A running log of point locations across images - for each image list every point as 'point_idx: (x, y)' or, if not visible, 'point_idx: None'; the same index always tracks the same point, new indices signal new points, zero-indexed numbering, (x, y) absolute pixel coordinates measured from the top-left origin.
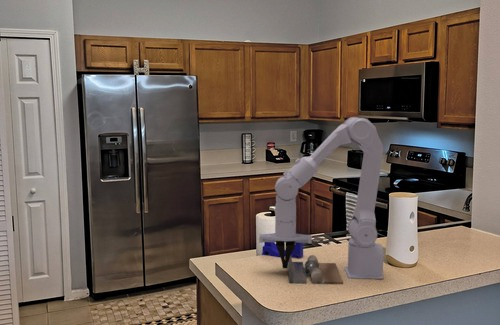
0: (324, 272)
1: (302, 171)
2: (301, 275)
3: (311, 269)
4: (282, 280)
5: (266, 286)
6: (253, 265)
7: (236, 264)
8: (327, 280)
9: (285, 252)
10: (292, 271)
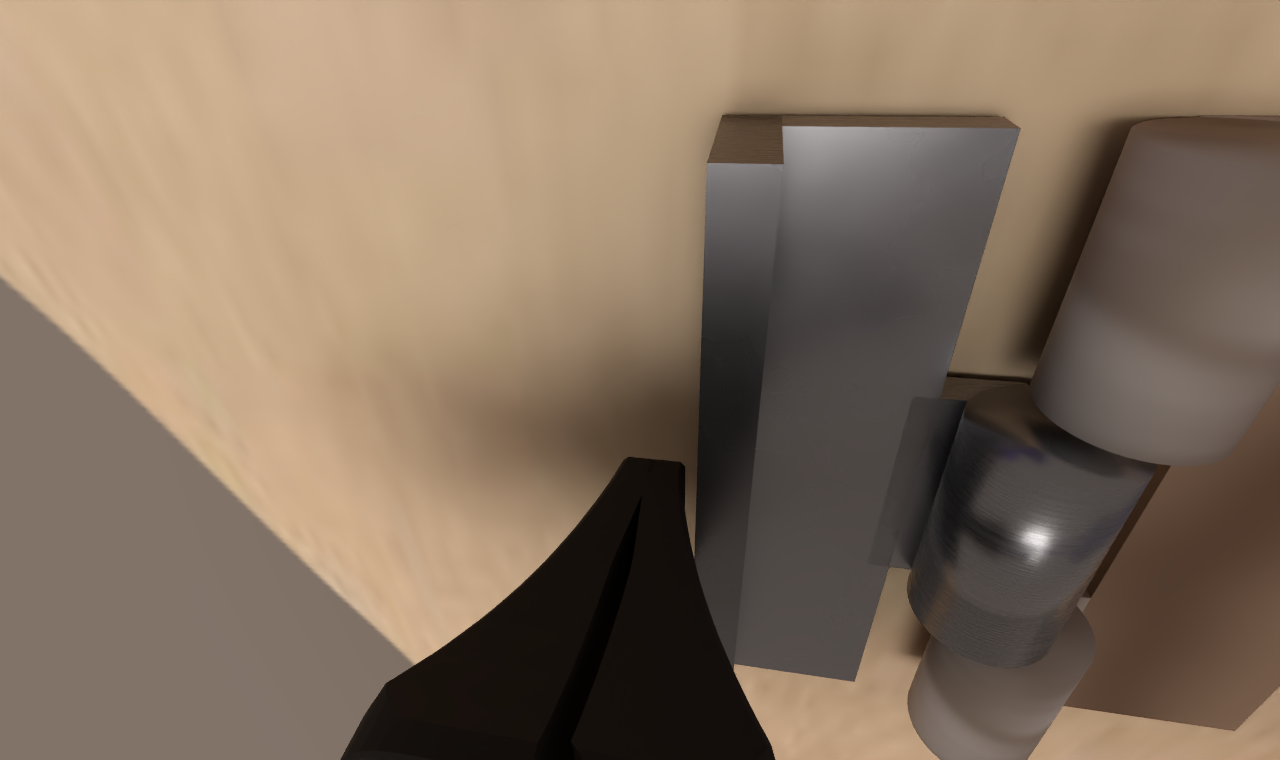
0: (1180, 532)
1: None
2: (833, 597)
3: None
4: None
5: None
6: (241, 163)
7: (26, 132)
8: (1080, 689)
9: (625, 592)
10: None
